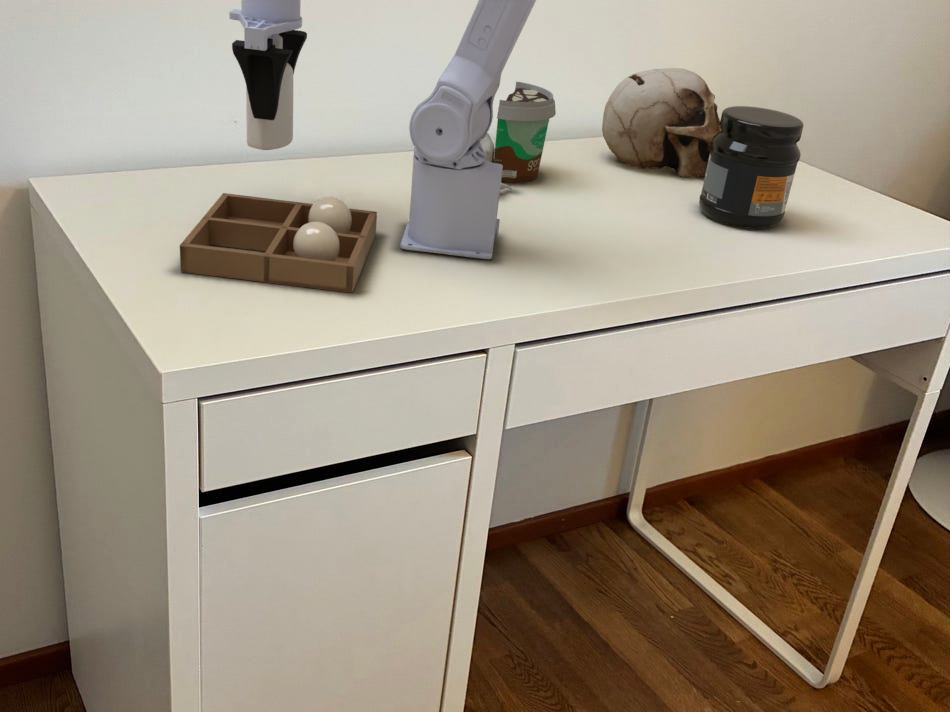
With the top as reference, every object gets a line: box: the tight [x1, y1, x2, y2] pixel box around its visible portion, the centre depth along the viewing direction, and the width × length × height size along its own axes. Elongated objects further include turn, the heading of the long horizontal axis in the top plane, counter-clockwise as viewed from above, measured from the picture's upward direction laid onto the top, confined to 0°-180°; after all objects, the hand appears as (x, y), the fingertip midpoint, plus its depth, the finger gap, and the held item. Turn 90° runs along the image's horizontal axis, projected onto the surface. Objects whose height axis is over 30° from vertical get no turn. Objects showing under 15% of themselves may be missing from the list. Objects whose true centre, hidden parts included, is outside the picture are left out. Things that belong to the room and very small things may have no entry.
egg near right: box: [293, 222, 340, 261], centre depth 105 cm, size 4×4×4 cm
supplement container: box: [698, 105, 805, 230], centre depth 133 cm, size 10×10×12 cm
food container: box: [494, 81, 557, 185], centre depth 138 cm, size 12×6×10 cm, turn 168°
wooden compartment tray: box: [179, 192, 378, 294], centre depth 109 cm, size 16×16×3 cm
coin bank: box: [601, 67, 721, 178], centre depth 150 cm, size 16×17×13 cm
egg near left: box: [308, 196, 352, 234], centre depth 112 cm, size 4×4×4 cm
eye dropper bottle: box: [245, 35, 294, 151], centre depth 113 cm, size 4×6×12 cm
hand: (270, 111), depth 114 cm, fingers closed on eye dropper bottle, 5 cm apart
